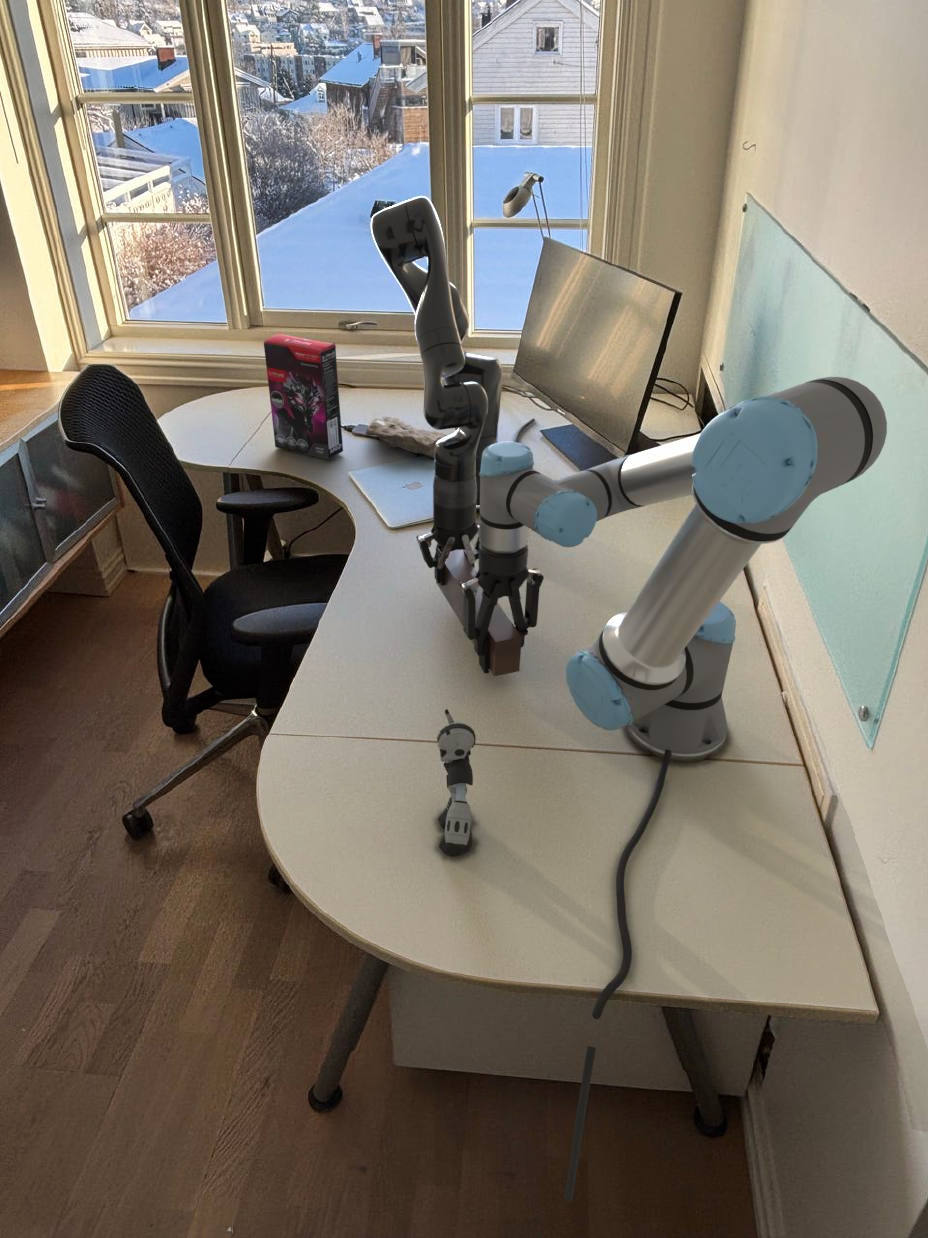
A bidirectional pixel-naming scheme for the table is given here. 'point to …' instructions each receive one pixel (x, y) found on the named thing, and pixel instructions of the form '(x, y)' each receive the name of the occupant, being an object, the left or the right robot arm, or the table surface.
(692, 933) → the table surface
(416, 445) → the stone
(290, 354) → the graphics card box
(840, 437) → the right robot arm
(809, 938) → the table surface
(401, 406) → the table surface
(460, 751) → the robot
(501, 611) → the beam
